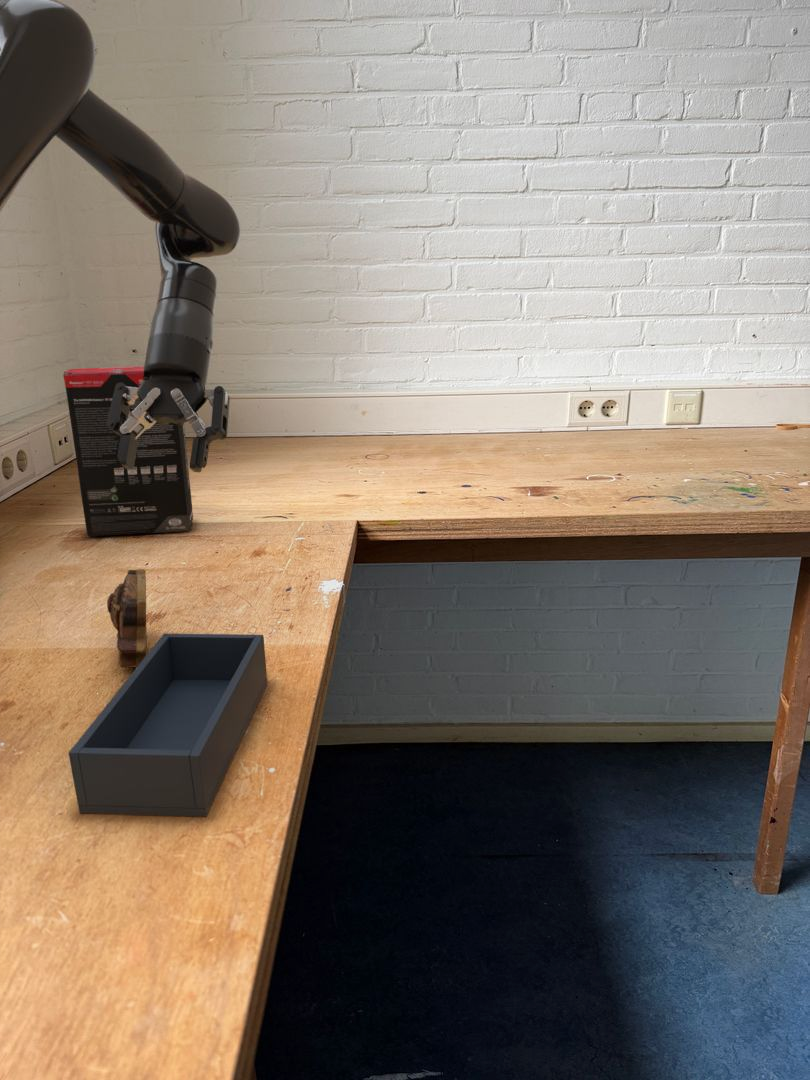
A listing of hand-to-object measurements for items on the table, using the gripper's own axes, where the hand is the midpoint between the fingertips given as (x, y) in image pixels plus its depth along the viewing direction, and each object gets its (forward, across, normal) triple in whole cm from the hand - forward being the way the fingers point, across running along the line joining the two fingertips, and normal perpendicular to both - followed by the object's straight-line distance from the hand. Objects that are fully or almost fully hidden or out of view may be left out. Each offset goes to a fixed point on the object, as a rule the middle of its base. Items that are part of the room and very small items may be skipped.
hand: (160, 468), depth 95 cm
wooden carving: (+23, 0, +1) cm, 23 cm away
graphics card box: (-1, -19, +39) cm, 43 cm away
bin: (+31, +12, -13) cm, 35 cm away
